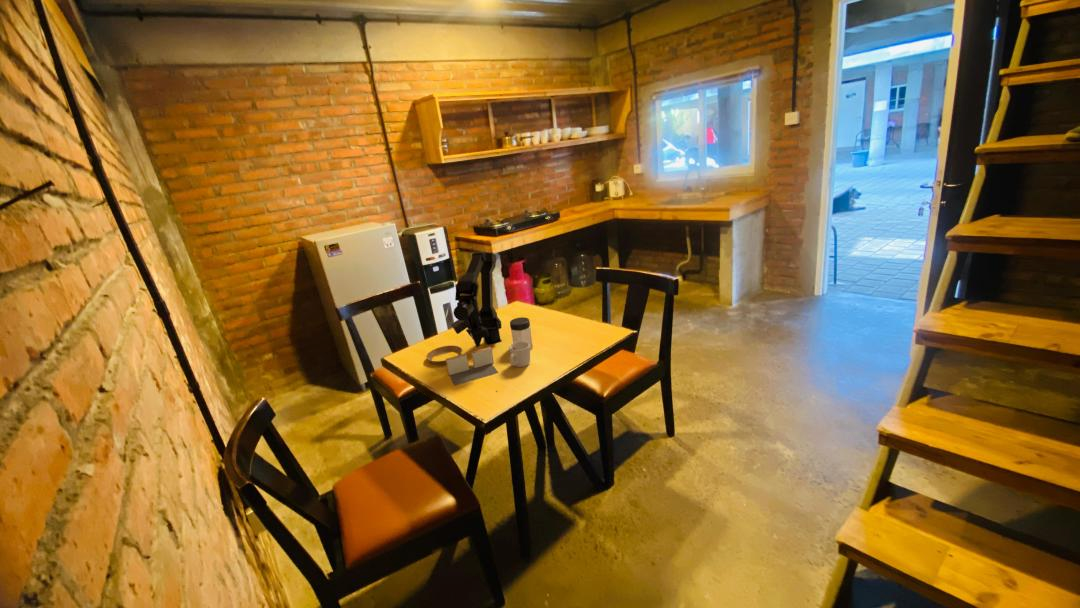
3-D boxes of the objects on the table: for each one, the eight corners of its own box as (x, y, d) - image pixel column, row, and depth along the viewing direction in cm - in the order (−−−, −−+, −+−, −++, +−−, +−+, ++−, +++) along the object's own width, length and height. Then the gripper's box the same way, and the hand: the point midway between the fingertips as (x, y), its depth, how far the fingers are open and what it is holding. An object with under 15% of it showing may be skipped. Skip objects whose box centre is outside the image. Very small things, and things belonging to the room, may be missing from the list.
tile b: (468, 368, 177) (465, 353, 175) (469, 370, 175) (466, 354, 173) (448, 374, 174) (445, 358, 172) (449, 375, 173) (446, 360, 170)
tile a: (493, 361, 180) (490, 346, 178) (494, 363, 179) (491, 348, 176) (473, 367, 177) (470, 352, 175) (474, 368, 176) (472, 353, 174)
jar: (509, 350, 189) (505, 324, 184) (517, 342, 195) (514, 316, 191) (528, 352, 185) (525, 325, 181) (536, 344, 192) (533, 317, 188)
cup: (521, 374, 168) (519, 354, 166) (503, 371, 172) (500, 352, 170) (535, 361, 177) (533, 342, 174) (518, 358, 181) (516, 340, 178)
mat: (489, 361, 181) (489, 360, 181) (498, 373, 171) (498, 372, 171) (447, 373, 176) (447, 372, 176) (454, 386, 165) (454, 385, 165)
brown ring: (426, 355, 194) (425, 349, 193) (461, 348, 197) (460, 342, 196) (428, 370, 180) (427, 364, 180) (465, 362, 184) (464, 356, 183)
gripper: (446, 308, 182) (452, 343, 187) (456, 323, 165) (463, 361, 171) (472, 302, 186) (478, 336, 191) (485, 315, 169) (492, 353, 174)
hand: (477, 346), depth 182 cm, fingers closed
